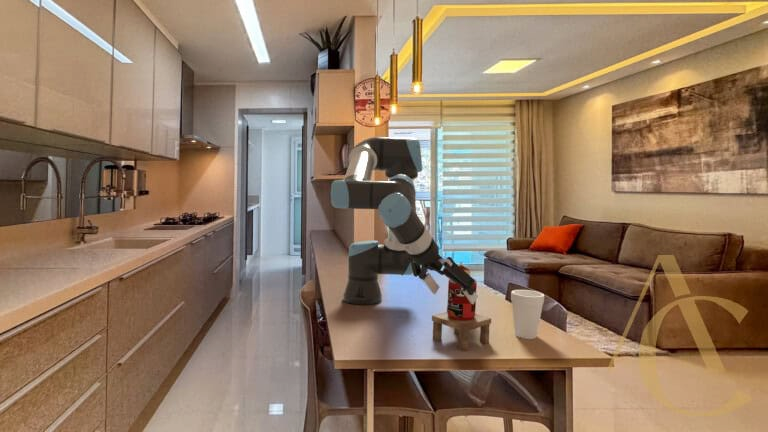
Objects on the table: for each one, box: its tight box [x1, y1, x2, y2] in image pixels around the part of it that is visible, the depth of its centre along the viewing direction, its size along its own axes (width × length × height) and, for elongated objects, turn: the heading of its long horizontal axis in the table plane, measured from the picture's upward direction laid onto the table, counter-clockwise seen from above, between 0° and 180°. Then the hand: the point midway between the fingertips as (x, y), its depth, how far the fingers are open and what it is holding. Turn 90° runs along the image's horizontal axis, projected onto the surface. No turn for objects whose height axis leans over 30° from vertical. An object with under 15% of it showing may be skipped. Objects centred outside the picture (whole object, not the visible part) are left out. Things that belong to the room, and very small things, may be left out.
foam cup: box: [510, 289, 545, 340], centre depth 126 cm, size 10×9×13 cm
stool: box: [431, 311, 492, 352], centre depth 120 cm, size 12×12×7 cm
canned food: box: [446, 278, 478, 321], centre depth 119 cm, size 8×8×11 cm
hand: (454, 295), depth 117 cm, fingers open, 13 cm apart
